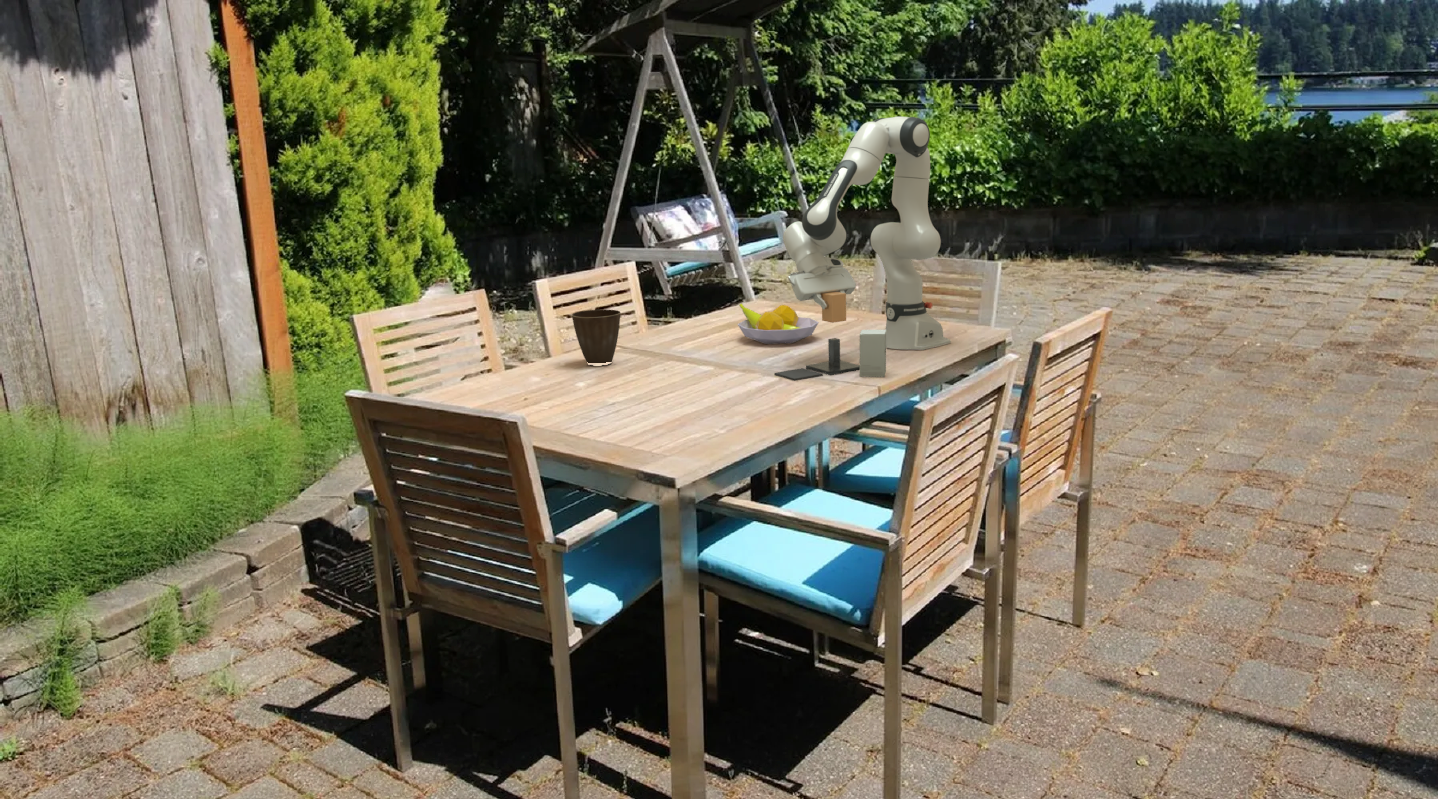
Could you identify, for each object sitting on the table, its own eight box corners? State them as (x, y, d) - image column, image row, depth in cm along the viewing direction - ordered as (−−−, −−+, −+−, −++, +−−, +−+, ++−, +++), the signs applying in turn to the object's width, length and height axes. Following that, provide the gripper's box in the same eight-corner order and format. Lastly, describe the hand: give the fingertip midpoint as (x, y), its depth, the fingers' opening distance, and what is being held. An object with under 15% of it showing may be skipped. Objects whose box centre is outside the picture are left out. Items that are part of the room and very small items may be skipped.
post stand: (838, 363, 364) (837, 333, 362) (863, 369, 354) (863, 339, 352) (806, 368, 358) (805, 338, 356) (830, 375, 348) (830, 344, 346)
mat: (802, 370, 356) (802, 368, 356) (822, 375, 348) (822, 373, 347) (774, 374, 351) (774, 372, 351) (794, 380, 342) (794, 378, 342)
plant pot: (565, 367, 371) (562, 315, 367) (592, 357, 384) (589, 308, 380) (606, 370, 364) (603, 318, 360) (632, 361, 377) (629, 310, 373)
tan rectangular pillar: (835, 318, 356) (835, 291, 354) (846, 320, 352) (845, 293, 350) (822, 320, 353) (821, 293, 351) (832, 322, 349) (832, 295, 347)
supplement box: (885, 377, 343) (885, 334, 340) (858, 377, 344) (858, 333, 341) (886, 372, 350) (886, 329, 347) (861, 371, 351) (861, 329, 348)
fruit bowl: (834, 340, 399) (834, 306, 396) (768, 351, 384) (767, 316, 382) (783, 329, 422) (782, 297, 419) (719, 339, 407) (718, 306, 404)
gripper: (790, 266, 349) (810, 304, 343) (846, 259, 359) (867, 296, 354) (781, 280, 354) (801, 317, 348) (837, 273, 364) (857, 309, 358)
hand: (835, 306), depth 351 cm, fingers closed on tan rectangular pillar, 5 cm apart
